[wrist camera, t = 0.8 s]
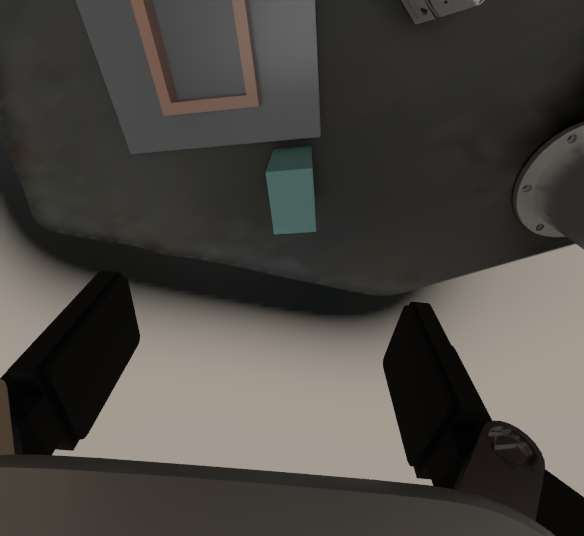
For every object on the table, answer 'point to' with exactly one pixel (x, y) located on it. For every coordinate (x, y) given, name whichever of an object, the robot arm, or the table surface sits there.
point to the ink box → (436, 8)
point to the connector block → (291, 190)
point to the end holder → (207, 70)
